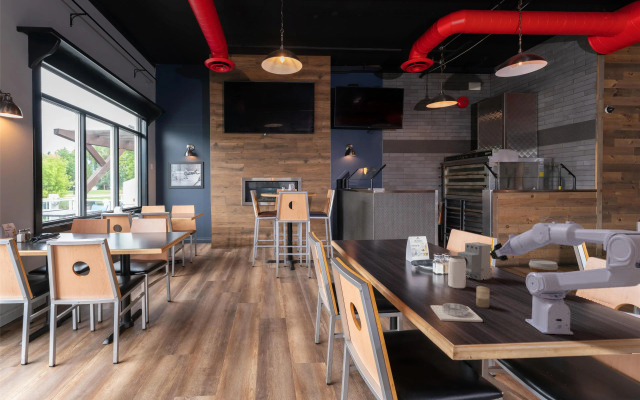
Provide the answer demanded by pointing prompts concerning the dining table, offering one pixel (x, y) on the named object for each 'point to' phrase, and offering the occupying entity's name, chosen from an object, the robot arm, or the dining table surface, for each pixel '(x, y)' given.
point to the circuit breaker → (477, 260)
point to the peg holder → (455, 313)
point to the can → (457, 272)
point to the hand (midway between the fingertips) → (501, 252)
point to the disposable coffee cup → (543, 266)
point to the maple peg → (482, 297)
